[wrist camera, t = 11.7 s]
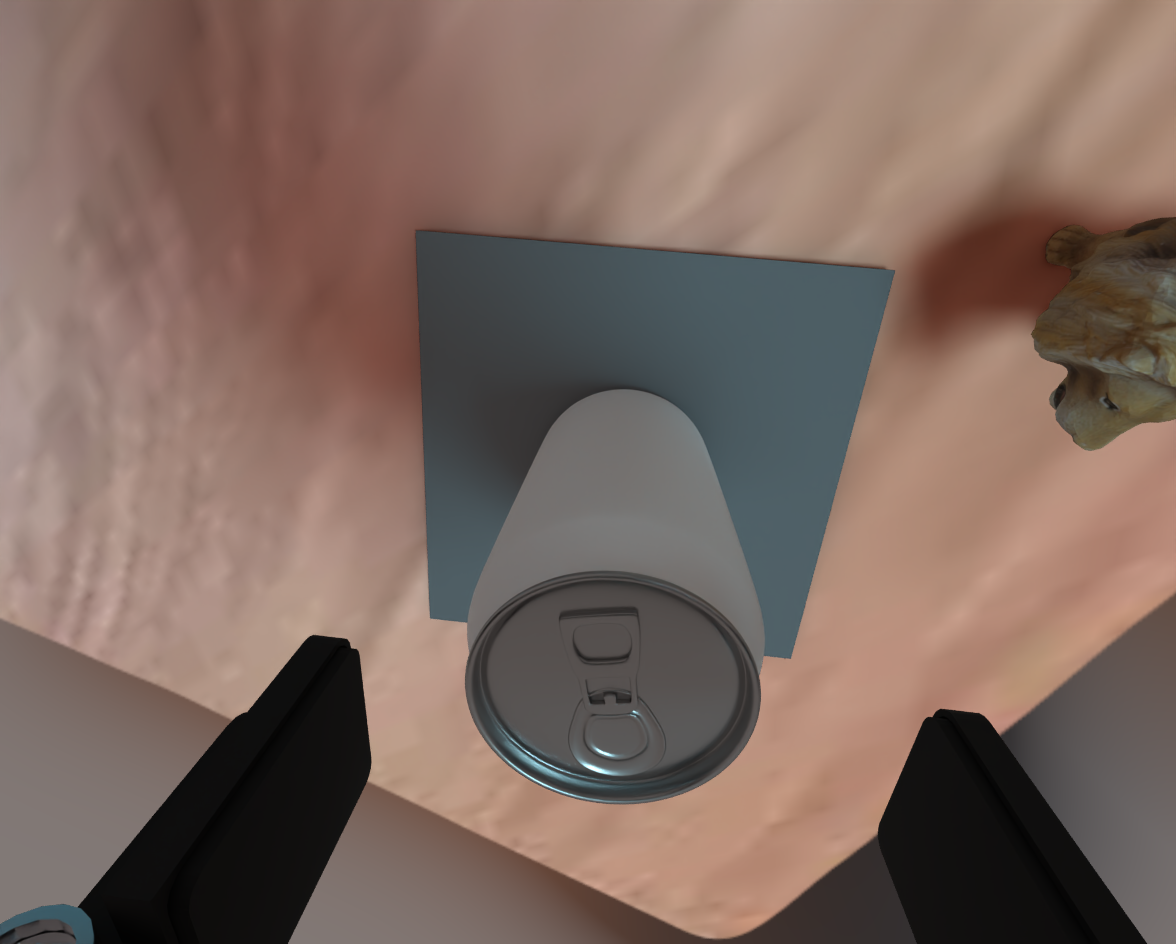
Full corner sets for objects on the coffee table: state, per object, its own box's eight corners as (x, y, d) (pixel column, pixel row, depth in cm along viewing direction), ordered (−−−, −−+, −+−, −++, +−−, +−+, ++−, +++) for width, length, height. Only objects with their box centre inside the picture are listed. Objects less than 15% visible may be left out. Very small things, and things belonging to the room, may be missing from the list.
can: (553, 547, 23) (478, 822, 12) (527, 395, 21) (404, 566, 10) (712, 535, 23) (786, 818, 11) (703, 376, 20) (786, 537, 9)
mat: (421, 230, 20) (415, 230, 19) (887, 269, 19) (895, 270, 18) (434, 610, 26) (429, 618, 25) (787, 649, 25) (790, 658, 25)
